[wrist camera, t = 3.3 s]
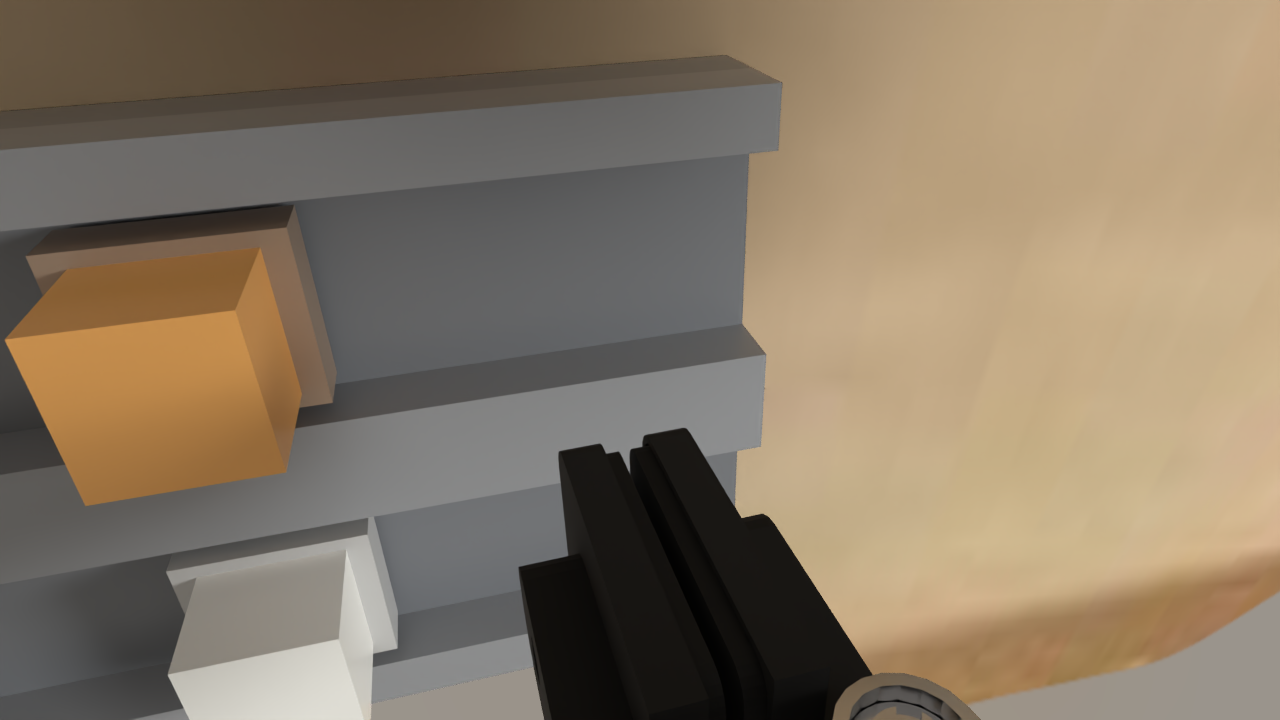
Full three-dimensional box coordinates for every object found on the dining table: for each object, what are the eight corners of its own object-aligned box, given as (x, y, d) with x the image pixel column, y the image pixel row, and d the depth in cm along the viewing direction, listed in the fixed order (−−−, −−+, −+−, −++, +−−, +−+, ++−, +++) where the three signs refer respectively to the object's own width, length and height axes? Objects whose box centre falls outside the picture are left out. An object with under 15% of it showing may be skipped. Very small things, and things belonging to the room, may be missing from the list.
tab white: (369, 499, 18) (363, 622, 15) (397, 610, 20) (397, 741, 17) (179, 532, 18) (131, 669, 15) (226, 646, 19) (193, 788, 16)
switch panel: (726, 55, 17) (788, 86, 15) (714, 543, 24) (754, 626, 22) (-1298, 212, 11) (-1846, 315, 9) (-536, 798, 18) (-702, 958, 16)
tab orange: (293, 205, 15) (265, 287, 12) (336, 371, 17) (321, 481, 14) (52, 230, 14) (-47, 325, 11) (124, 403, 16) (57, 526, 13)
